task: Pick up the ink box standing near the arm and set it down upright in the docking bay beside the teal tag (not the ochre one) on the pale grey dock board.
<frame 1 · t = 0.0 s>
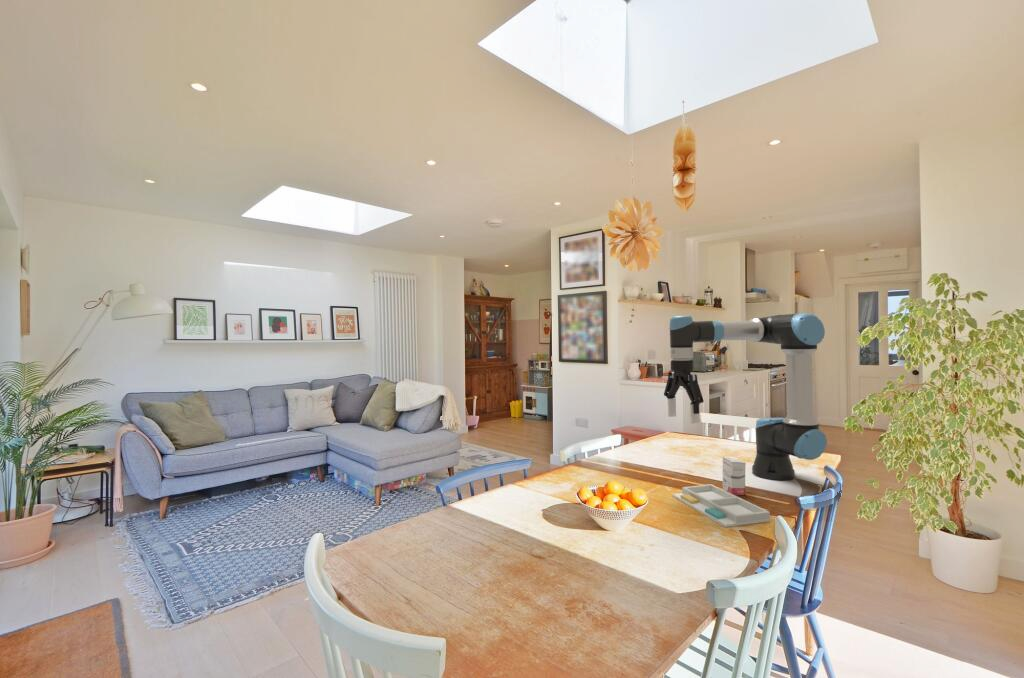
hand: (683, 419, 164), 28 cm above the table, fingers open, 13 cm apart
ink box: (734, 491, 170), on the table
dock board: (717, 507, 155), on the table
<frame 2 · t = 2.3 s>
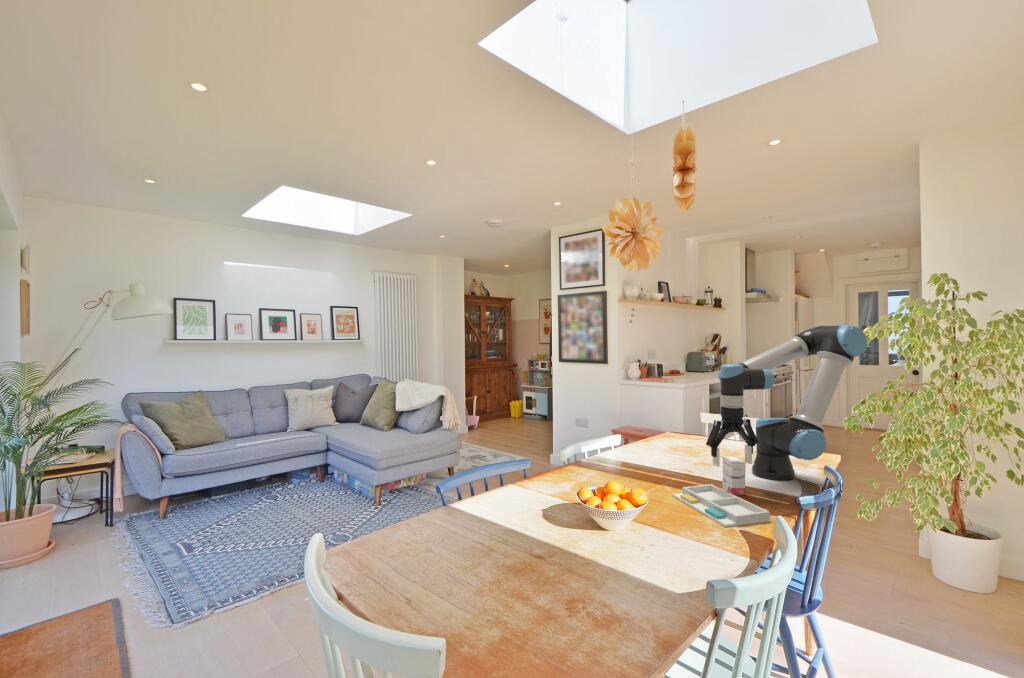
hand: (732, 464, 170), 10 cm above the table, fingers open, 13 cm apart
nothing on the table moved.
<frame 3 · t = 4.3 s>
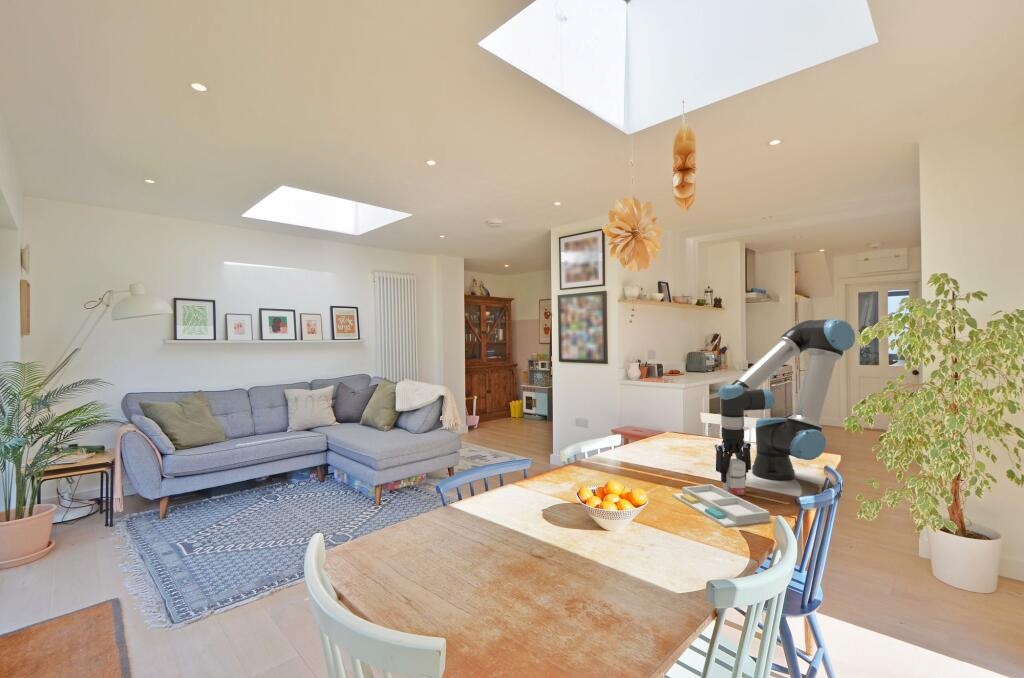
hand: (733, 490, 170), 0 cm above the table, fingers closed on ink box, 6 cm apart
ink box: (734, 491, 170), on the table, touching gripper
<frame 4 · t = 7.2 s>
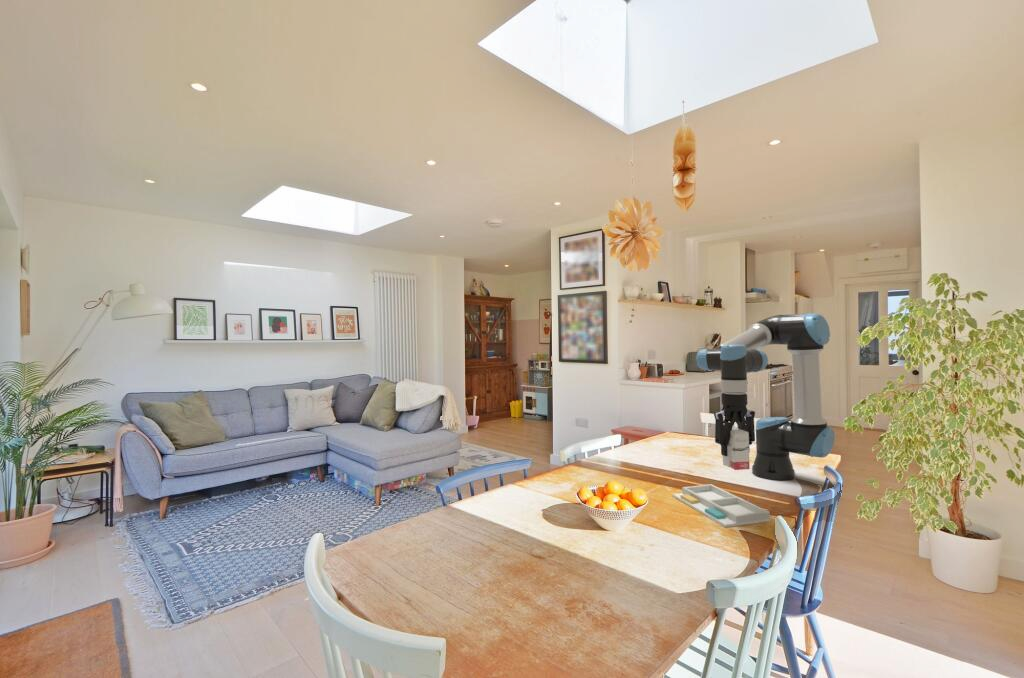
hand: (735, 464, 148), 16 cm above the table, fingers closed on ink box, 6 cm apart
ink box: (736, 466, 148), point 15 cm above the table, touching gripper
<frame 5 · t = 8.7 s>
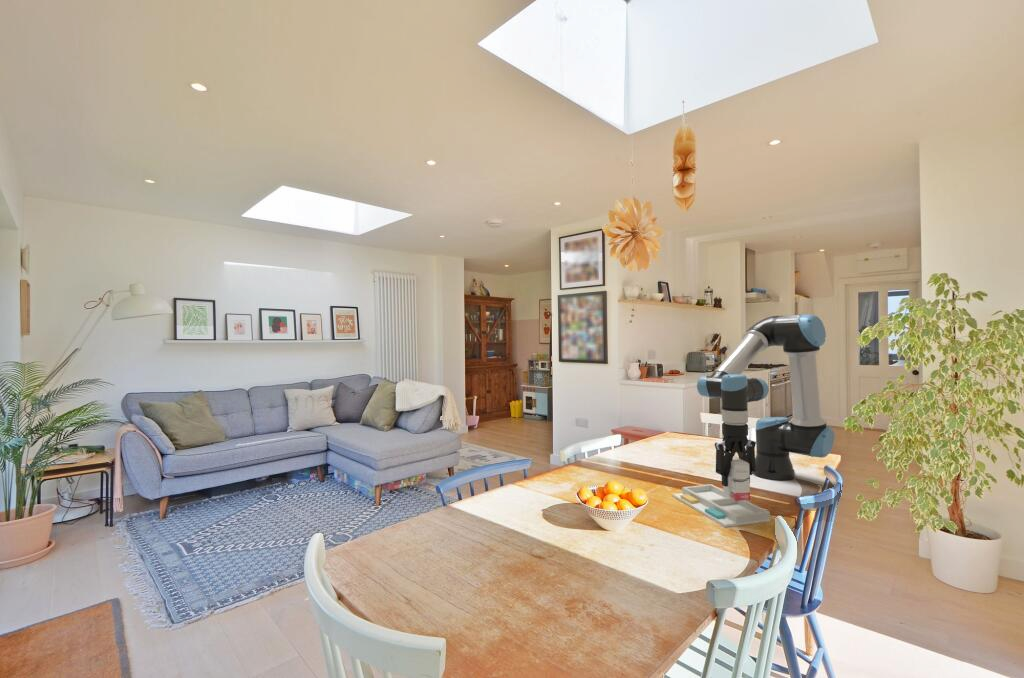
hand: (736, 494, 148), 6 cm above the table, fingers closed on ink box, 6 cm apart
ink box: (736, 496, 148), point 6 cm above the table, touching gripper
when the fingers open (3 cm above the table, at t = 10.1 s): ink box drops 2 cm, resting on dock board.
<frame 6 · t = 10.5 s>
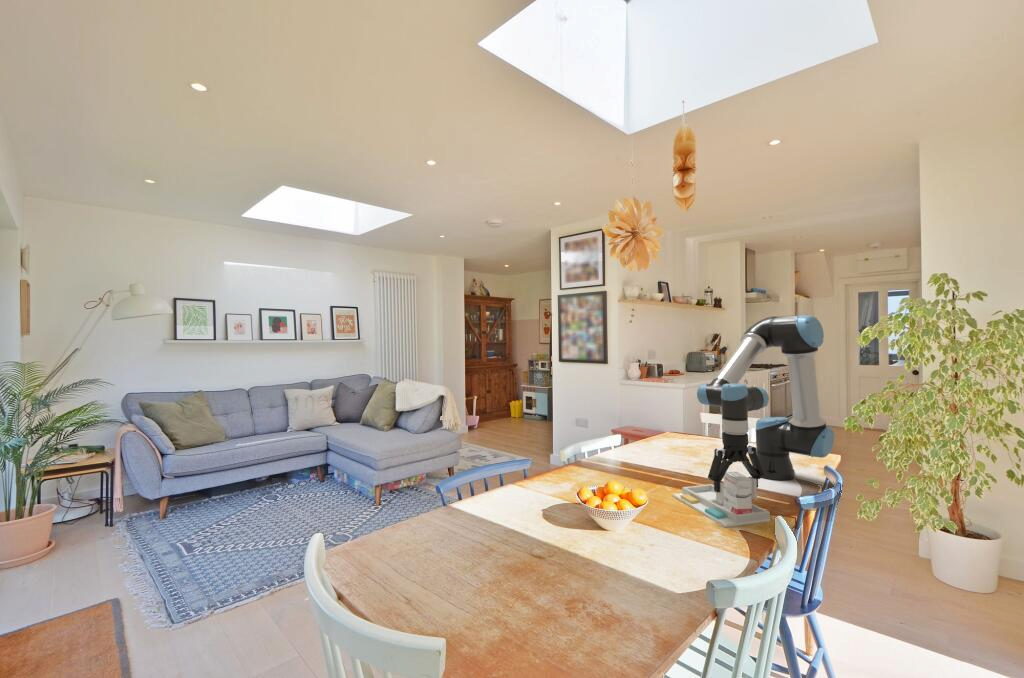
hand: (736, 499, 148), 5 cm above the table, fingers open, 11 cm apart
ink box: (737, 512, 148), point 1 cm above the table, touching dock board
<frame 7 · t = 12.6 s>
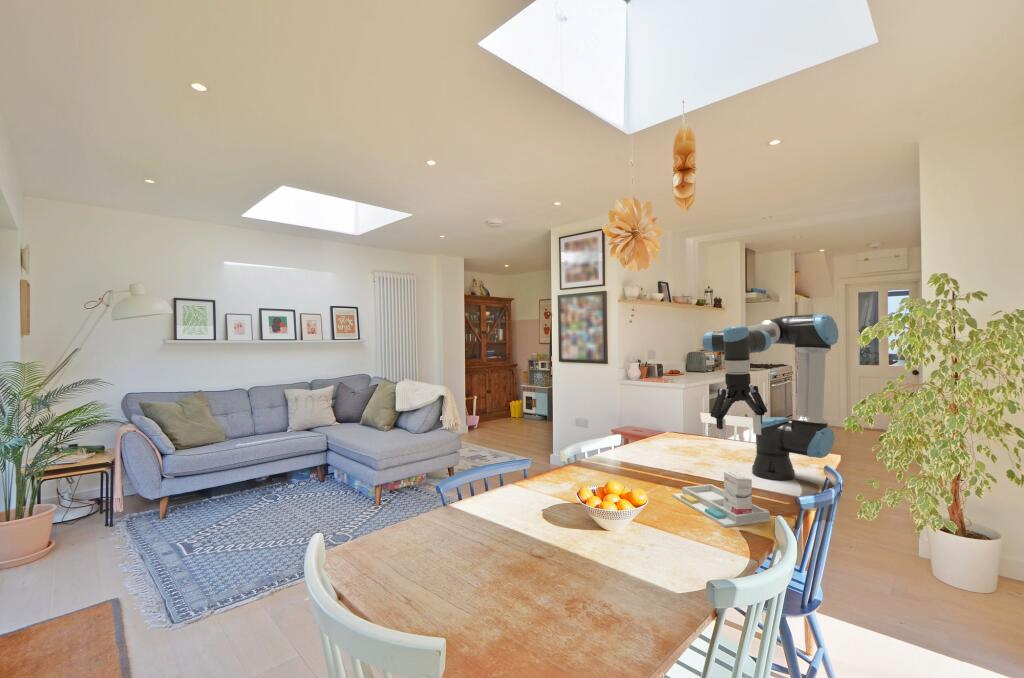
hand: (740, 436, 154), 24 cm above the table, fingers open, 13 cm apart
nothing on the table moved.
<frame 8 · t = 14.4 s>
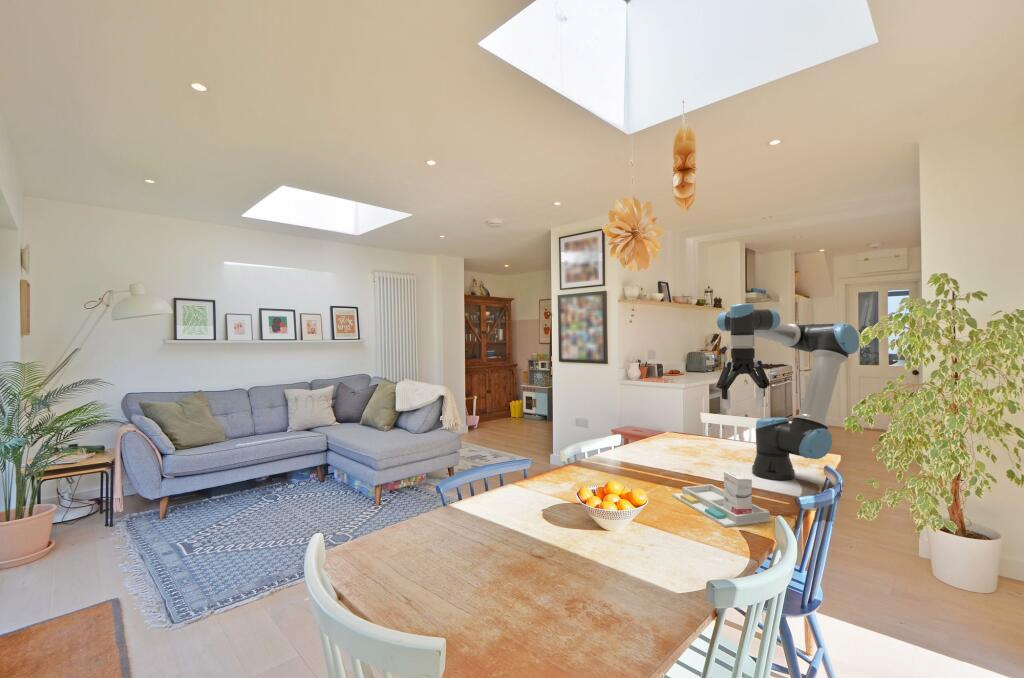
hand: (743, 407, 164), 32 cm above the table, fingers open, 13 cm apart
nothing on the table moved.
at the end: ink box inside the target area on the dock board (0.3 cm from its centre), point 0.6 cm above the dock board's base; ink box tilted 0°; the gripper is holding nothing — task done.
